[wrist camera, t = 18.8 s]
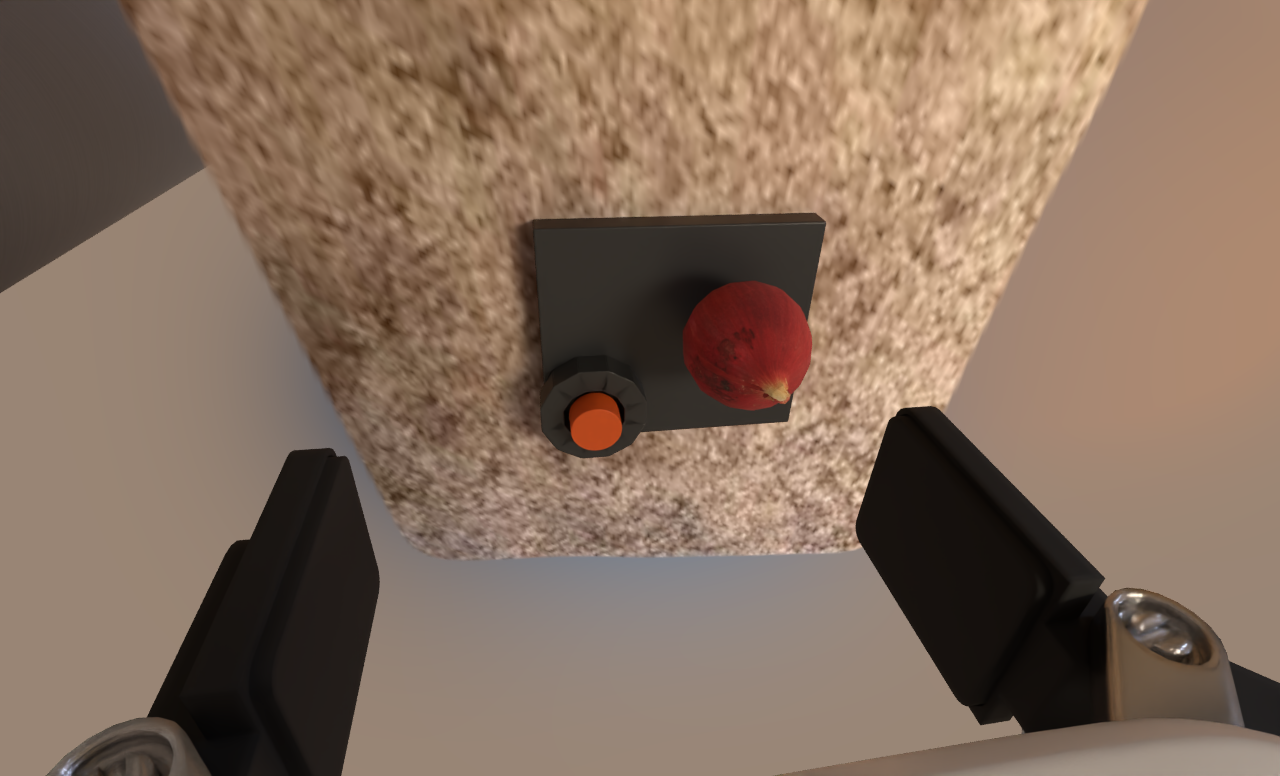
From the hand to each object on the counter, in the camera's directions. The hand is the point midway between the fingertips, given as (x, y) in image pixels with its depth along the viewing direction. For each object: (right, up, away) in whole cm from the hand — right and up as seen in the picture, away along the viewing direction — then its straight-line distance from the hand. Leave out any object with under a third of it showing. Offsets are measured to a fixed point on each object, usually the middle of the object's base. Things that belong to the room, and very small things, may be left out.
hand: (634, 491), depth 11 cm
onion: (+4, +6, +21) cm, 23 cm away
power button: (-2, +1, +22) cm, 22 cm away
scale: (+2, +5, +23) cm, 23 cm away
